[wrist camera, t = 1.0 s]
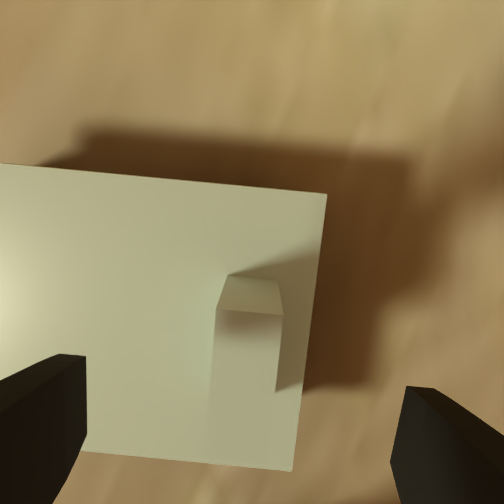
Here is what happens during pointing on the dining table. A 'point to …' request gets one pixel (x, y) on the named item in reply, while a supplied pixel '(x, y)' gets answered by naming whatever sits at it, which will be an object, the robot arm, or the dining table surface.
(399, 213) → the dining table surface
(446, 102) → the dining table surface
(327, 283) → the dining table surface
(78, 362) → the robot arm
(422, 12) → the dining table surface
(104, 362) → the lid
